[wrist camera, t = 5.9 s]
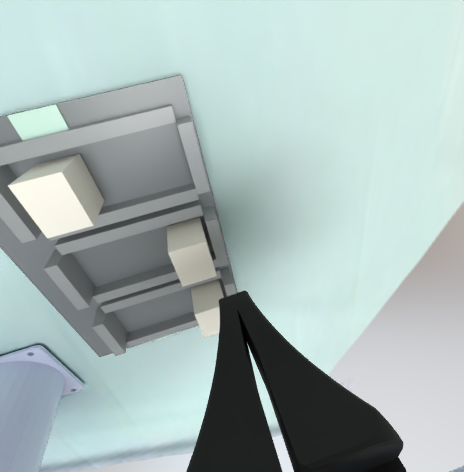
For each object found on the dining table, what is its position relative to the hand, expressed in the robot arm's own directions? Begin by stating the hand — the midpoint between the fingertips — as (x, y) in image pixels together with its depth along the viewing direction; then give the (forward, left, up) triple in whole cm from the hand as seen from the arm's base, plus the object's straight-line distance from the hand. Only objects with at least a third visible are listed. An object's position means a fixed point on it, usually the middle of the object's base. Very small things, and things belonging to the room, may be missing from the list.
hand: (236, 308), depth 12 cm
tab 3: (-2, -6, -8) cm, 10 cm away
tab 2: (-2, -1, -8) cm, 8 cm away
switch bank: (-6, 0, -9) cm, 11 cm away
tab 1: (-7, +6, -8) cm, 12 cm away
